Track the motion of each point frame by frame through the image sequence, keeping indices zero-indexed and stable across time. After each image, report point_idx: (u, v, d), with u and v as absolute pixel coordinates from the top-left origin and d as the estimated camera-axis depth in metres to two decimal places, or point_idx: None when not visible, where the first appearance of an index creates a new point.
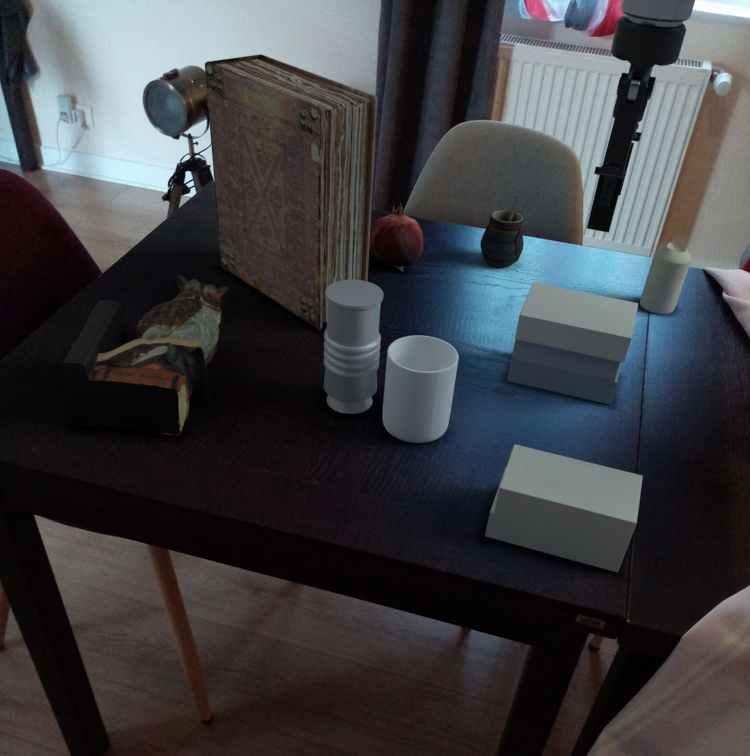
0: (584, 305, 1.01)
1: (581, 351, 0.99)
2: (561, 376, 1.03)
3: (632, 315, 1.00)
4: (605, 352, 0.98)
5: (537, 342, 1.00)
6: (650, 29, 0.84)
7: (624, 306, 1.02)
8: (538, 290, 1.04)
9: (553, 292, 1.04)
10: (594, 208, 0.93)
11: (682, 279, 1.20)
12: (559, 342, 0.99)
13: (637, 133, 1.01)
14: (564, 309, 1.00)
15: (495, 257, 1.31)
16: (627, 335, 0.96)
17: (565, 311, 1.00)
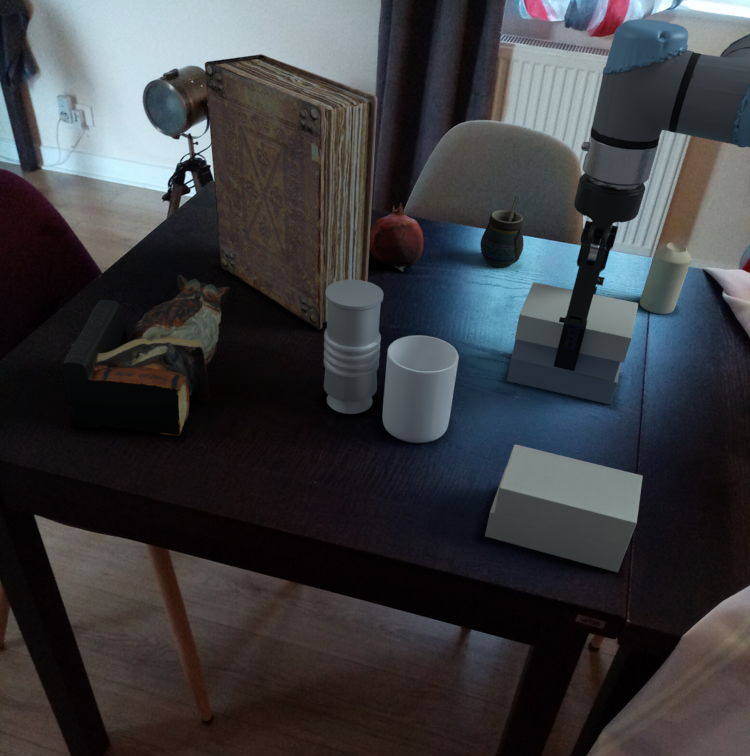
0: None
1: (581, 351, 0.99)
2: (561, 376, 1.03)
3: (632, 315, 1.00)
4: (605, 352, 0.98)
5: (537, 342, 1.00)
6: (610, 192, 0.87)
7: (624, 306, 1.02)
8: (538, 290, 1.04)
9: (553, 292, 1.04)
10: (560, 350, 0.99)
11: (682, 279, 1.20)
12: None
13: (600, 277, 1.04)
14: (564, 309, 1.00)
15: (495, 257, 1.31)
16: (627, 335, 0.96)
17: (565, 311, 1.00)
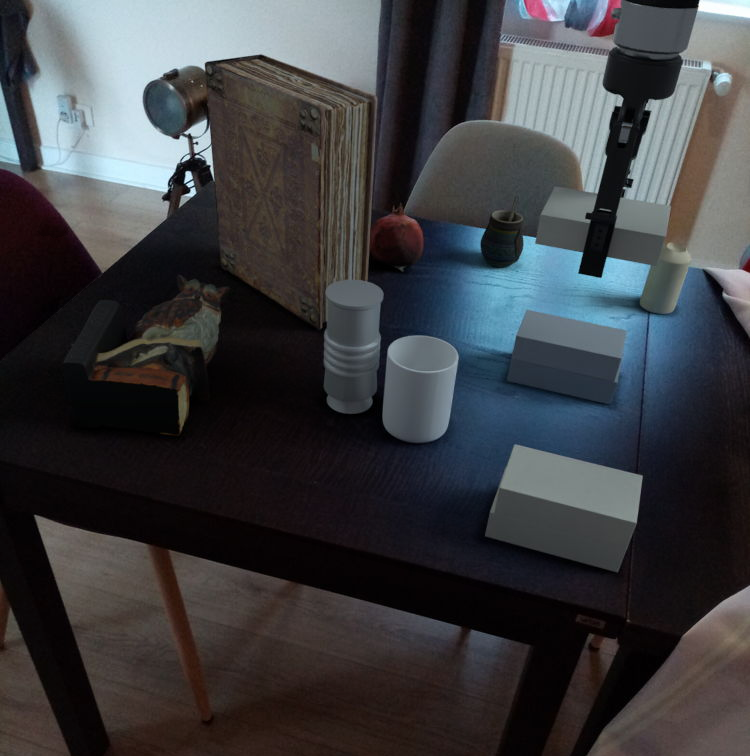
0: None
1: (609, 255, 0.89)
2: (561, 376, 1.03)
3: (665, 216, 0.91)
4: (636, 255, 0.88)
5: (560, 246, 0.91)
6: (644, 62, 0.78)
7: (656, 208, 0.92)
8: (560, 193, 0.95)
9: (577, 195, 0.94)
10: (586, 253, 0.89)
11: (682, 279, 1.20)
12: (584, 245, 0.90)
13: (629, 179, 0.95)
14: (590, 210, 0.91)
15: (495, 257, 1.31)
16: (660, 234, 0.87)
17: (591, 212, 0.91)
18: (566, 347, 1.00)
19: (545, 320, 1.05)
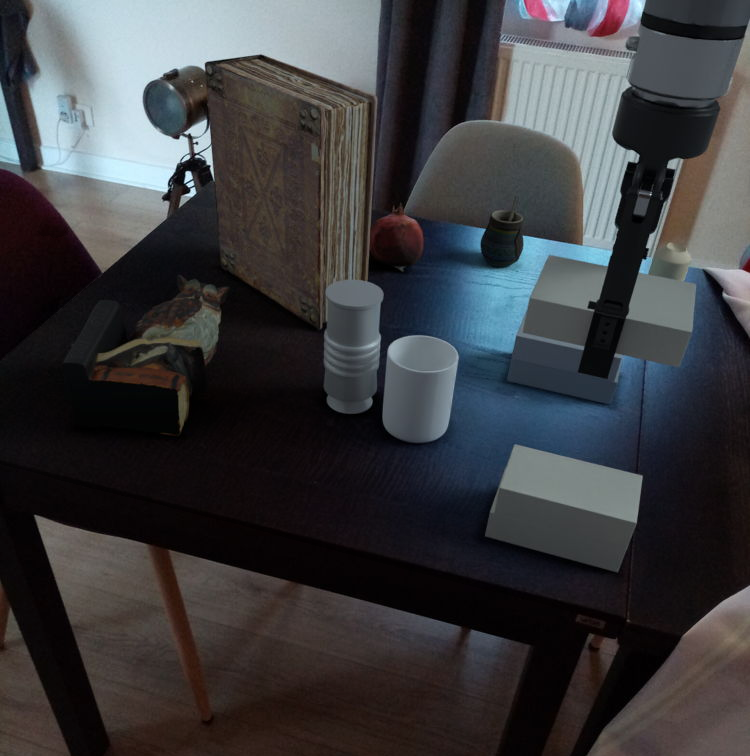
0: None
1: (617, 351, 0.69)
2: (561, 376, 1.03)
3: (690, 300, 0.70)
4: (652, 352, 0.68)
5: (554, 337, 0.71)
6: (669, 110, 0.58)
7: (677, 288, 0.72)
8: (556, 265, 0.74)
9: (577, 268, 0.74)
10: (588, 349, 0.69)
11: (682, 279, 1.20)
12: (586, 338, 0.70)
13: None
14: (594, 292, 0.71)
15: (495, 257, 1.31)
16: (685, 328, 0.66)
17: (594, 293, 0.70)
18: (566, 347, 1.00)
19: None
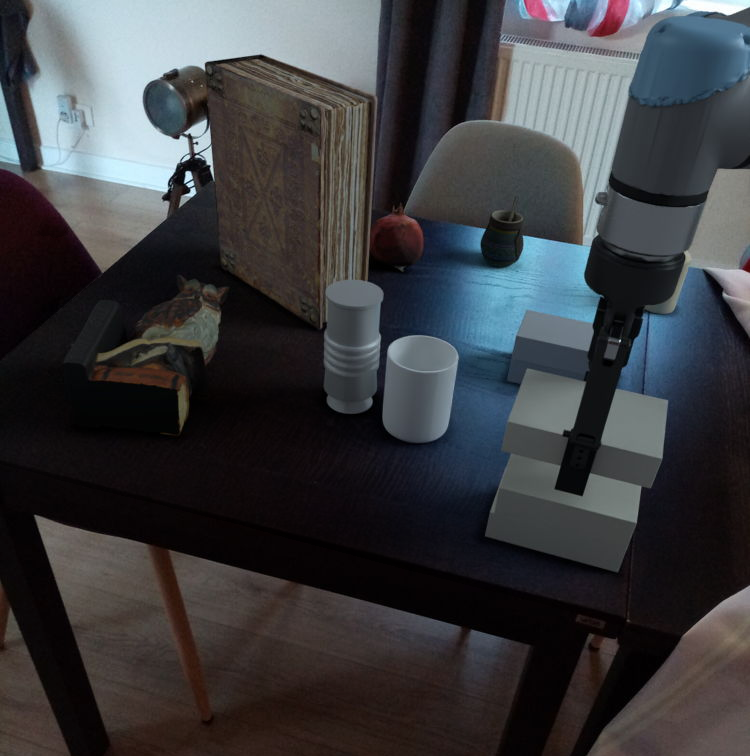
0: None
1: (592, 471, 0.72)
2: None
3: (661, 421, 0.73)
4: (625, 474, 0.71)
5: (532, 457, 0.73)
6: (636, 265, 0.61)
7: (650, 406, 0.75)
8: (533, 381, 0.77)
9: (554, 384, 0.77)
10: (564, 469, 0.72)
11: (682, 279, 1.20)
12: (562, 458, 0.72)
13: None
14: (569, 412, 0.74)
15: (495, 257, 1.31)
16: (656, 455, 0.69)
17: (570, 414, 0.73)
18: (566, 347, 1.00)
19: (545, 320, 1.05)
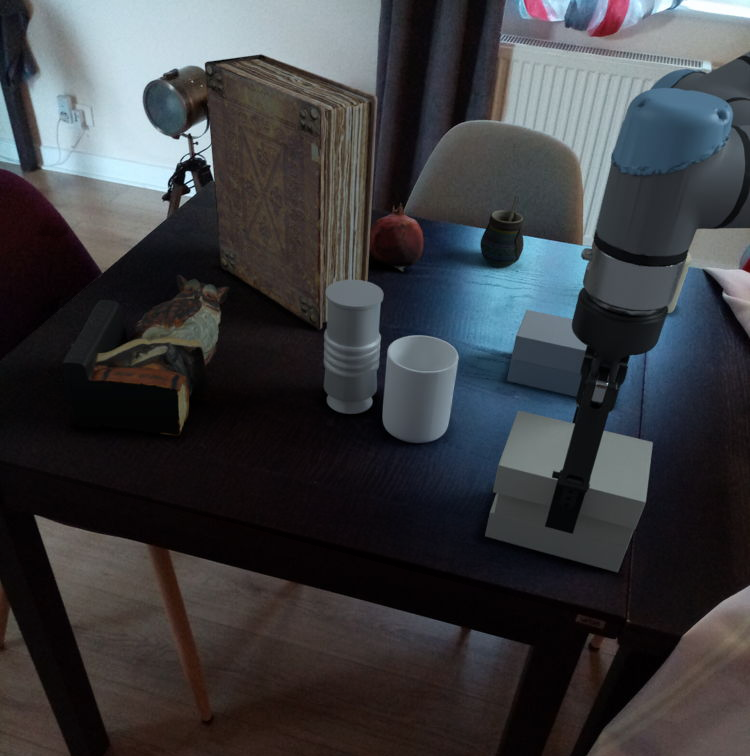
0: None
1: (579, 512, 0.76)
2: (561, 376, 1.03)
3: (646, 463, 0.77)
4: (610, 515, 0.75)
5: (522, 498, 0.77)
6: (620, 318, 0.64)
7: (635, 448, 0.79)
8: (524, 423, 0.81)
9: (544, 426, 0.81)
10: (554, 508, 0.74)
11: (682, 279, 1.20)
12: (550, 500, 0.76)
13: None
14: (557, 455, 0.77)
15: (495, 257, 1.31)
16: (639, 498, 0.73)
17: (558, 457, 0.77)
18: (566, 347, 1.00)
19: (545, 320, 1.05)
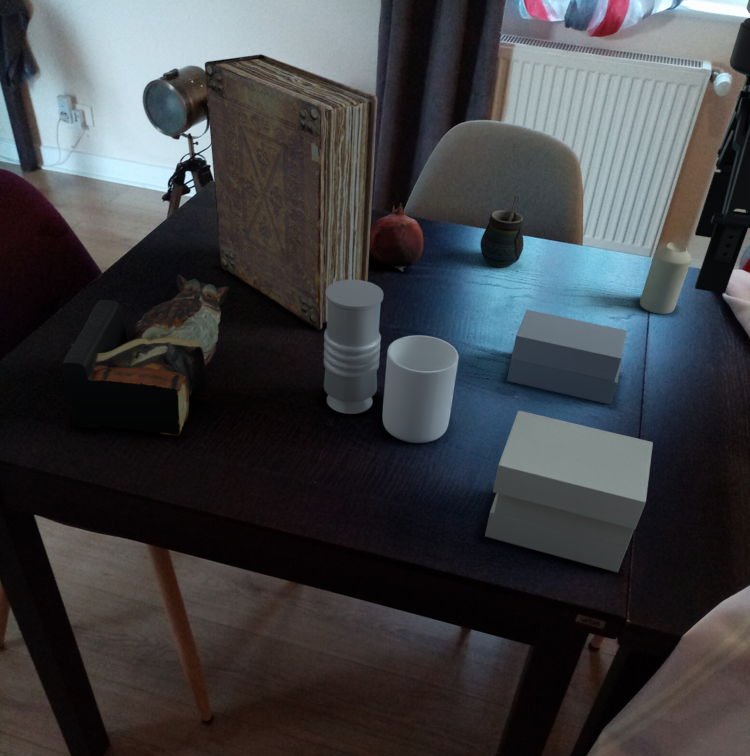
0: (583, 448, 0.78)
1: (579, 512, 0.76)
2: (561, 376, 1.03)
3: (646, 463, 0.77)
4: (610, 515, 0.75)
5: (522, 498, 0.77)
6: None
7: (635, 448, 0.79)
8: (524, 423, 0.81)
9: (544, 426, 0.81)
10: (707, 264, 0.73)
11: (682, 279, 1.20)
12: (550, 500, 0.76)
13: None
14: (557, 455, 0.77)
15: (495, 257, 1.31)
16: (639, 498, 0.73)
17: (558, 457, 0.77)
18: (566, 347, 1.00)
19: (545, 320, 1.05)
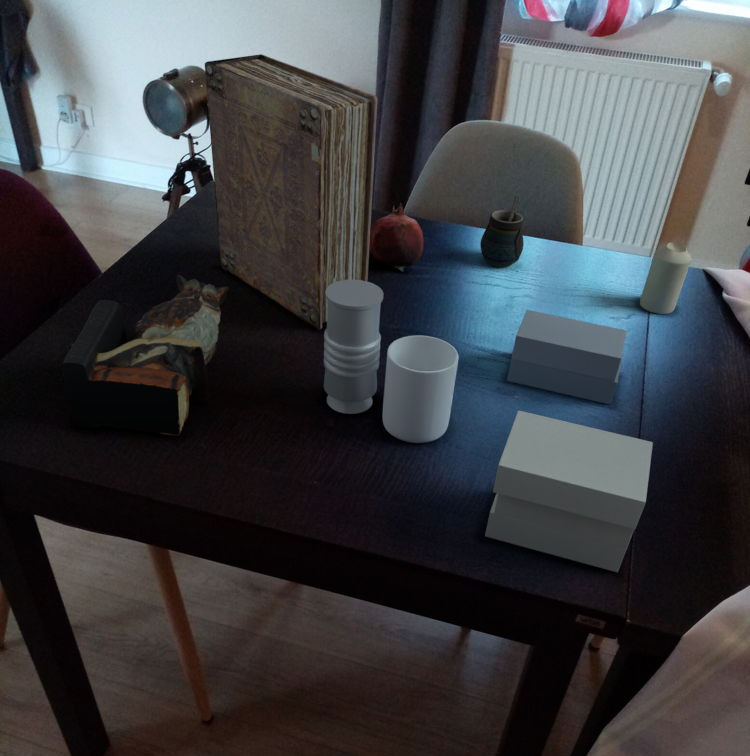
0: (583, 448, 0.78)
1: (579, 512, 0.76)
2: (561, 376, 1.03)
3: (646, 463, 0.77)
4: (610, 515, 0.75)
5: (522, 498, 0.77)
6: None
7: (635, 448, 0.79)
8: (524, 423, 0.81)
9: (544, 426, 0.81)
10: None
11: (682, 279, 1.20)
12: (550, 500, 0.76)
13: None
14: (557, 455, 0.77)
15: (495, 257, 1.31)
16: (639, 498, 0.73)
17: (558, 457, 0.77)
18: (566, 347, 1.00)
19: (545, 320, 1.05)
